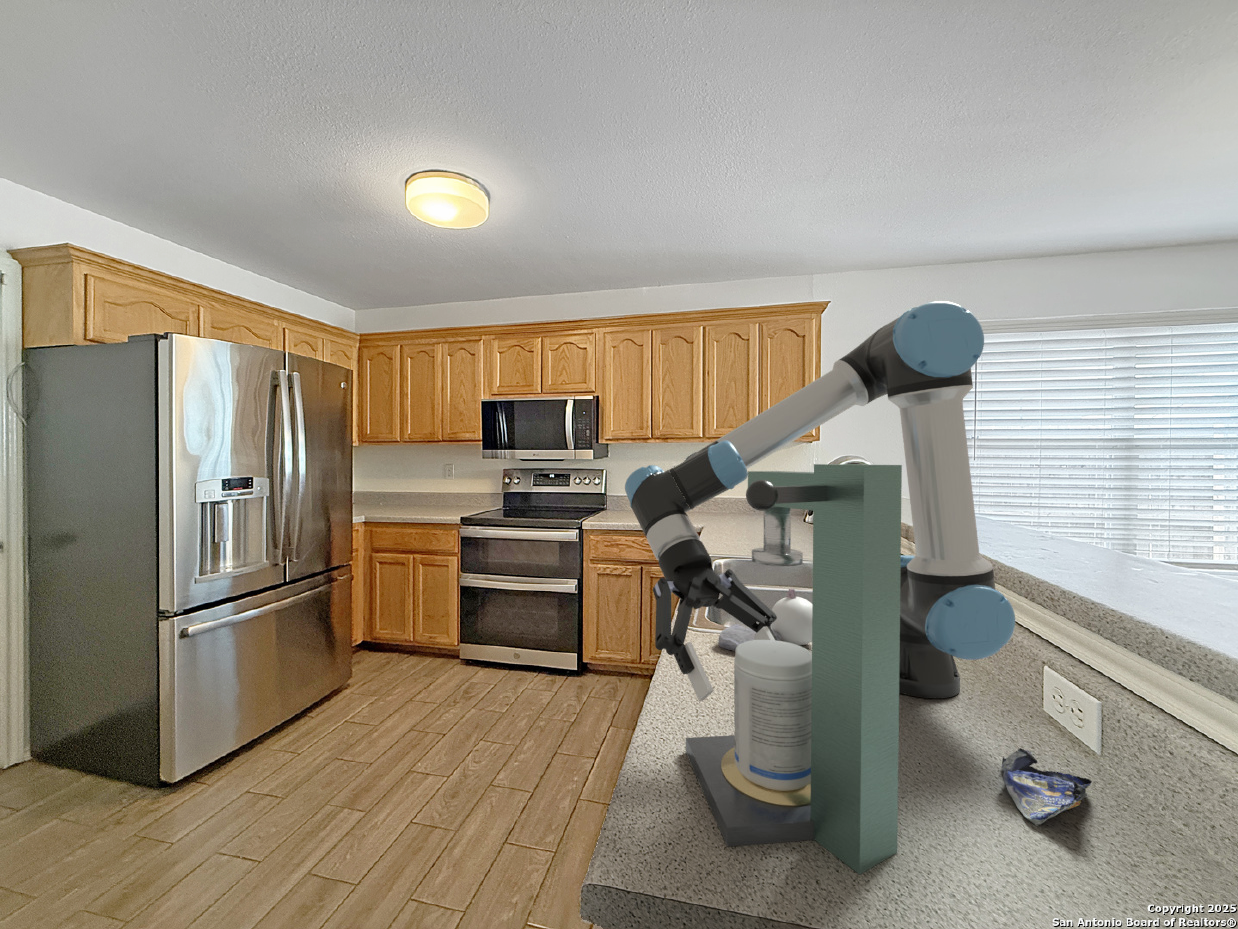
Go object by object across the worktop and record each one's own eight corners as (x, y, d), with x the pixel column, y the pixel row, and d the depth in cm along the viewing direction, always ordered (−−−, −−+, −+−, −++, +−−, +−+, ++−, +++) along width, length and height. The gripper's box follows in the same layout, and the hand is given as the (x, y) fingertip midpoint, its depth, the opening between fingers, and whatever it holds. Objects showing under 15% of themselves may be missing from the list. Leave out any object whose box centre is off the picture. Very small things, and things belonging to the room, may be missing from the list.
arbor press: (809, 745, 76) (812, 463, 75) (921, 871, 53) (926, 465, 52) (685, 752, 74) (687, 462, 73) (744, 887, 50) (748, 464, 50)
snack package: (955, 784, 67) (1063, 846, 56) (961, 730, 68) (1068, 781, 57) (1021, 781, 72) (1133, 838, 60) (1025, 730, 72) (1137, 777, 61)
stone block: (769, 670, 107) (782, 646, 116) (767, 648, 107) (780, 625, 115) (714, 660, 114) (730, 637, 122) (711, 639, 113) (728, 618, 121)
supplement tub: (831, 778, 64) (833, 656, 64) (777, 805, 59) (779, 673, 59) (769, 741, 72) (771, 633, 72) (717, 762, 67) (718, 646, 67)
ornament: (761, 642, 118) (761, 588, 118) (788, 633, 125) (788, 581, 124) (802, 655, 110) (802, 597, 110) (828, 645, 116) (829, 590, 116)
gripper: (729, 558, 91) (797, 678, 78) (599, 573, 78) (656, 719, 65) (751, 531, 86) (828, 654, 73) (618, 542, 73) (682, 693, 61)
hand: (747, 685), depth 69 cm, fingers open, 13 cm apart
